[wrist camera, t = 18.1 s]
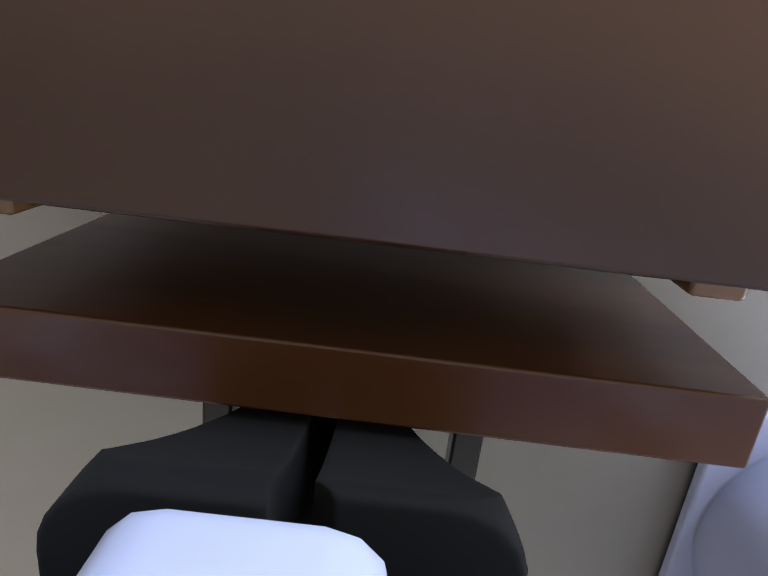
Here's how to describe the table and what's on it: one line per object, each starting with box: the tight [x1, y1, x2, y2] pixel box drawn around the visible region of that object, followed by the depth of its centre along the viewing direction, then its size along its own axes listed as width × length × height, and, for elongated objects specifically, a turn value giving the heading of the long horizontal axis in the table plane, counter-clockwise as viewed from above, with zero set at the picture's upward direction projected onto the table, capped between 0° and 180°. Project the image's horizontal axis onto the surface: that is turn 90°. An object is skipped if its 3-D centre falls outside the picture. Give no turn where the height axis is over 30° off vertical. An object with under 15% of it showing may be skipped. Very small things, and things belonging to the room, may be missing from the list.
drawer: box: [0, 200, 768, 480], centre depth 10 cm, size 18×12×7 cm
